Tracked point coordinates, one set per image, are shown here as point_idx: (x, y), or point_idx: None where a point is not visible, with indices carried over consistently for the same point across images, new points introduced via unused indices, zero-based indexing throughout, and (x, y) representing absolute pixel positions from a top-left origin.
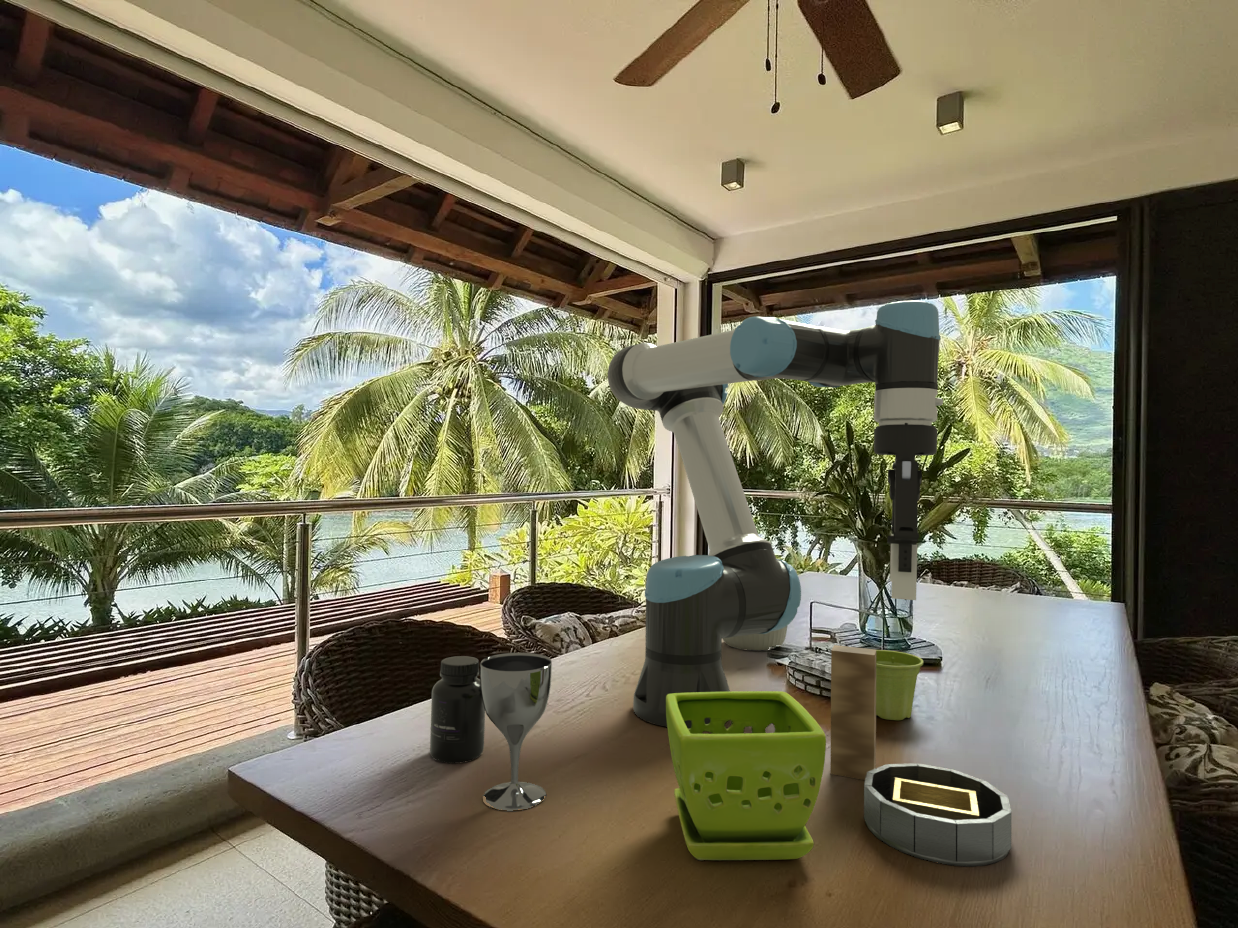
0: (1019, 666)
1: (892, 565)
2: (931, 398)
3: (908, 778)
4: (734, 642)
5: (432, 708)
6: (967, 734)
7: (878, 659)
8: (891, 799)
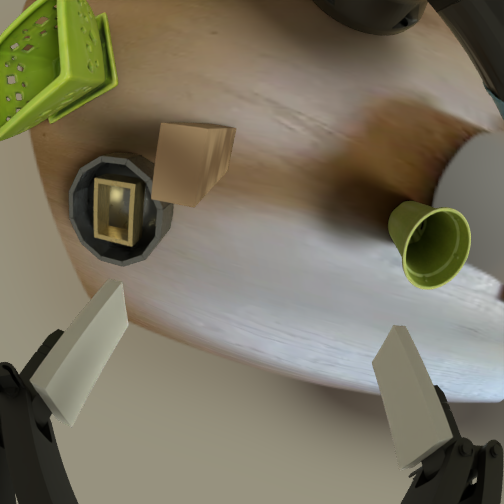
0: (487, 353)
1: (65, 333)
2: None
3: None
4: None
5: None
6: (352, 285)
7: (460, 238)
8: None
